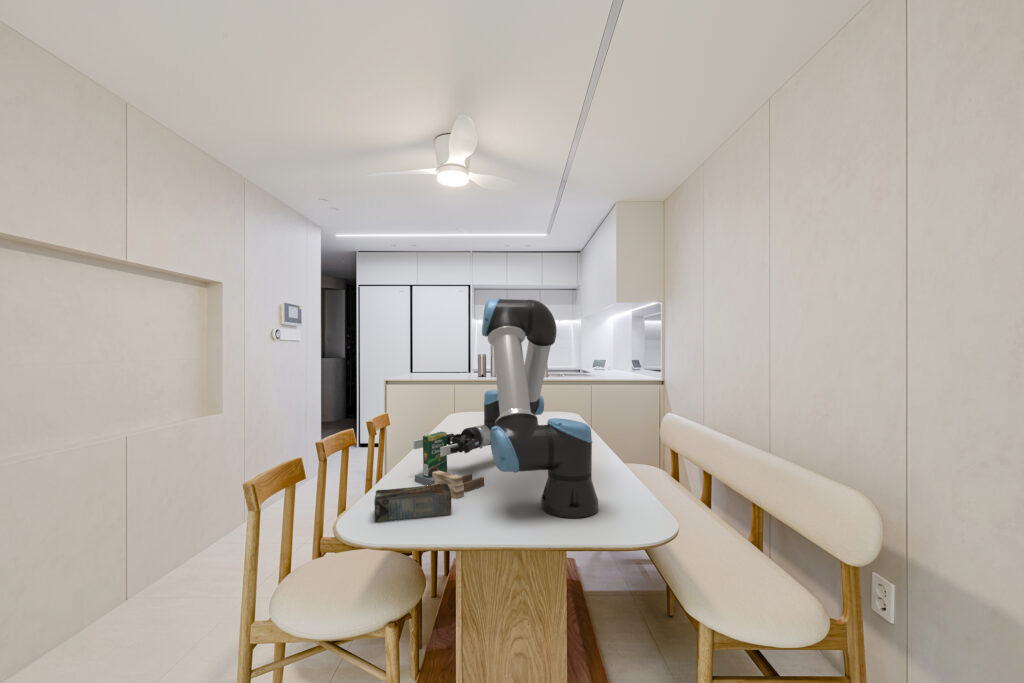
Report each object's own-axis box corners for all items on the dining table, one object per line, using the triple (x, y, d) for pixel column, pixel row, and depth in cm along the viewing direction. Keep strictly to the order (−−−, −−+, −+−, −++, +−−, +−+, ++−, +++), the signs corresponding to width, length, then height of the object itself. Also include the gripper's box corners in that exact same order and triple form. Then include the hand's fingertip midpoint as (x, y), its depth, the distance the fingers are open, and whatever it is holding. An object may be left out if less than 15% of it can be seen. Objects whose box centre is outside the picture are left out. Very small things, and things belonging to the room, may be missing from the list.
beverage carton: (375, 512, 113) (375, 486, 113) (448, 505, 118) (448, 481, 118) (373, 524, 105) (374, 496, 105) (452, 516, 110) (452, 490, 111)
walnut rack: (484, 485, 134) (484, 477, 134) (465, 492, 128) (465, 483, 128) (470, 481, 138) (470, 473, 138) (451, 487, 132) (451, 479, 132)
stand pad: (455, 480, 139) (455, 474, 139) (432, 487, 132) (432, 480, 132) (436, 475, 145) (436, 469, 145) (414, 481, 138) (414, 475, 138)
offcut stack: (464, 496, 124) (464, 477, 124) (456, 498, 122) (456, 479, 122) (439, 487, 132) (439, 470, 132) (431, 490, 129) (431, 472, 129)
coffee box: (427, 478, 134) (428, 436, 134) (422, 476, 136) (422, 434, 136) (447, 472, 140) (447, 432, 141) (441, 471, 142) (442, 431, 142)
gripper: (501, 454, 144) (453, 467, 128) (451, 442, 160) (403, 453, 144) (501, 431, 144) (453, 442, 128) (451, 422, 160) (403, 431, 144)
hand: (426, 448), depth 136 cm, fingers open, 13 cm apart
